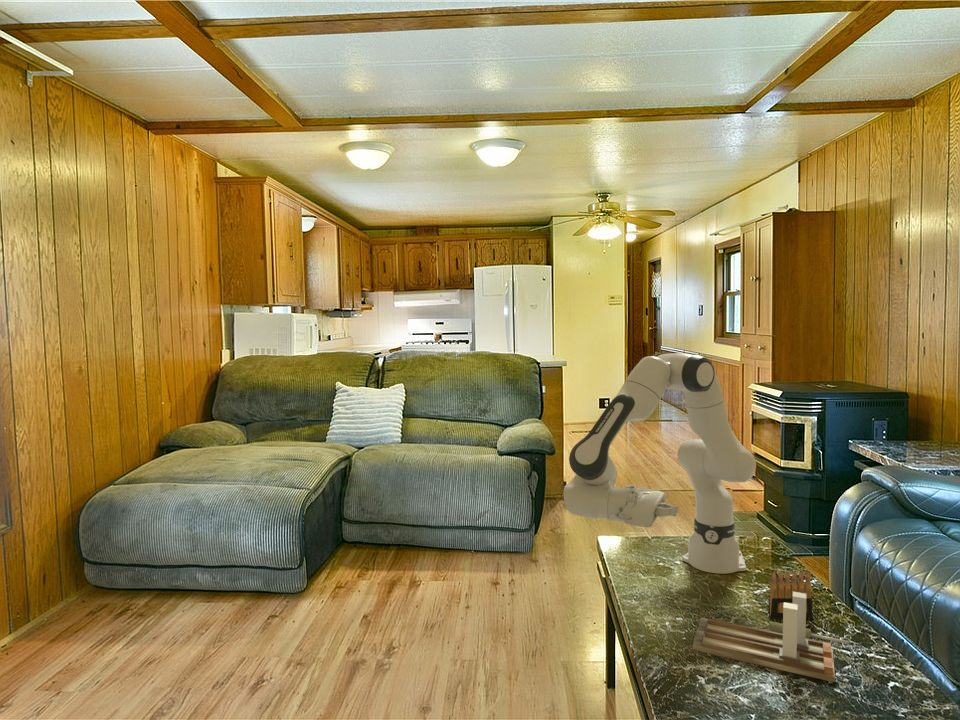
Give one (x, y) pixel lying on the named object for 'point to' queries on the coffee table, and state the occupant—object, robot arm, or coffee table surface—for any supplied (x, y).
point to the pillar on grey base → (801, 619)
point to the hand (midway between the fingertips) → (677, 511)
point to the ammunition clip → (788, 593)
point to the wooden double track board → (762, 648)
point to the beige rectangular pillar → (789, 633)
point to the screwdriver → (779, 629)
